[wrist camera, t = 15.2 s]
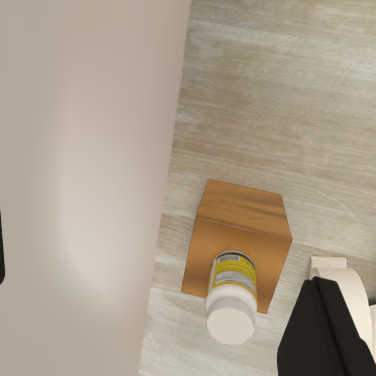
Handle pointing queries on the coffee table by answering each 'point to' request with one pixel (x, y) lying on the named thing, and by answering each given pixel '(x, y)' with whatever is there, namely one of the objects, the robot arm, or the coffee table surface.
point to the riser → (238, 237)
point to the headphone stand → (346, 291)
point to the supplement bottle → (231, 298)
